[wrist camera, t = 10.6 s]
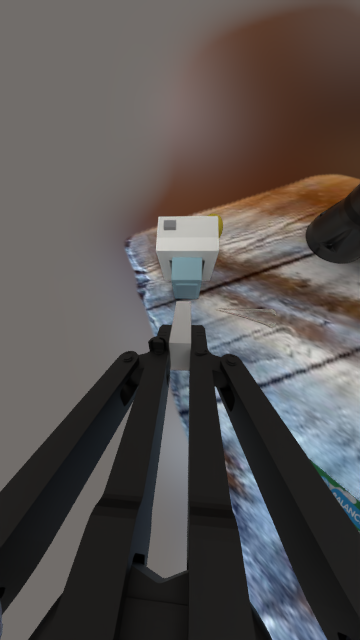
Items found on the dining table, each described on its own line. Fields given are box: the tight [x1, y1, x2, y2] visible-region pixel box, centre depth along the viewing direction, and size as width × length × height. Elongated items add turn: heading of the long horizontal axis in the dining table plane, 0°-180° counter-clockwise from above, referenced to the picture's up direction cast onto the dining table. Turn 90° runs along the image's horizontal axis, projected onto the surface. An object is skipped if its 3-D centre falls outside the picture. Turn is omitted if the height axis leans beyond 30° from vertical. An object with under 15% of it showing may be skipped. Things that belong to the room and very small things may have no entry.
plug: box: [171, 257, 202, 299], centre depth 35 cm, size 6×8×10 cm
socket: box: [156, 216, 219, 281], centre depth 35 cm, size 12×8×13 cm, turn 88°
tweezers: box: [218, 308, 276, 328], centre depth 38 cm, size 17×5×2 cm, turn 79°
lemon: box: [208, 214, 223, 238], centre depth 39 cm, size 6×6×8 cm
